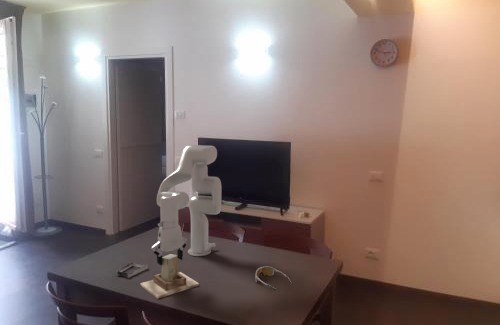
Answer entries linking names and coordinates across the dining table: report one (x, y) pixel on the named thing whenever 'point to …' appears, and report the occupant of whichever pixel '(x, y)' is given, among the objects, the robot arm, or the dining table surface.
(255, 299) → the dining table surface
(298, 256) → the dining table surface
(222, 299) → the dining table surface
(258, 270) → the sunglasses
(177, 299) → the dining table surface
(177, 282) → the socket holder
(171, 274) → the skincare box
